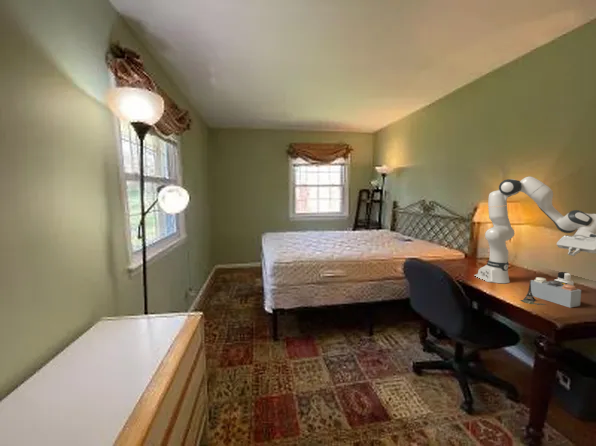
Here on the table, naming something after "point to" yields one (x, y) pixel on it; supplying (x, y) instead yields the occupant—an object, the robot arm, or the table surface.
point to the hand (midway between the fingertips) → (570, 254)
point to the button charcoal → (554, 283)
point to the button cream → (540, 280)
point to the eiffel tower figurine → (531, 300)
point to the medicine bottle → (564, 278)
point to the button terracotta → (569, 287)
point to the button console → (556, 294)
